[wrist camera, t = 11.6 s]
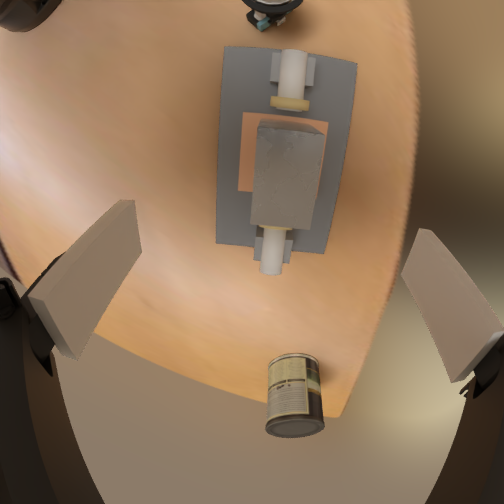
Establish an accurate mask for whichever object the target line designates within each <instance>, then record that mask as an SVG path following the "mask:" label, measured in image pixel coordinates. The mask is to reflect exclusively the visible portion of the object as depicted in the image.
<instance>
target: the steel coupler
mask: <svg viewBox="0 0 504 504" xmlns="http://www.w3.org/2000/svg"><path fill="white" fill-rule="evenodd" d="M324 141H325V135H324V134H323V133H321V132H320V131H319V130H317V129H316V128H314V127H313V126H311V125H310V124H307V123H300V122H292V121H283V120H273V119H262V118H261V120H260V122H259V125H258V127H257V140H256V153H255V166H254V179H253V193H252V206H251V220H250V224H253V225H264V226H274V227H285V228H295V229H305V230H310V227H311V221H312V216H313V210H314V205H315V199H316V193H317V187H318V181H319V175H320V169H321V162H322V155H323V149H324Z"/></svg>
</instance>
